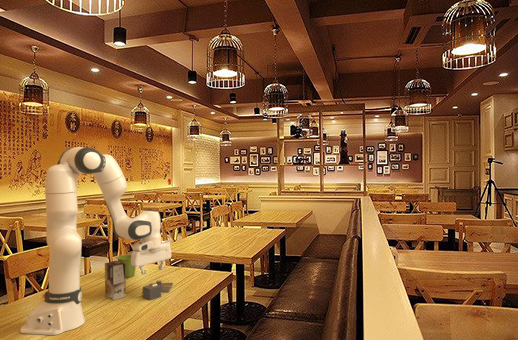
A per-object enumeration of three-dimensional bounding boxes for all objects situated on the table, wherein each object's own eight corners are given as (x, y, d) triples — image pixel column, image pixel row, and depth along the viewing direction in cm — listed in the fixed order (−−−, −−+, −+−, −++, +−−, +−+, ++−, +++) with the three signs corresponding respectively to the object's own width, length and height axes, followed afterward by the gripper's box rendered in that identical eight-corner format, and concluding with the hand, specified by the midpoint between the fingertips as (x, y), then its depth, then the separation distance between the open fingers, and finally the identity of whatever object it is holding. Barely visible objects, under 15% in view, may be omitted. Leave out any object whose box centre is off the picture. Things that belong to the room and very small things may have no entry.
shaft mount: (144, 293, 186) (144, 285, 185) (149, 285, 198) (149, 277, 197) (169, 292, 186) (168, 284, 186) (173, 284, 198) (172, 276, 198)
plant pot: (134, 279, 207) (134, 259, 207) (113, 279, 208) (112, 259, 207) (141, 273, 219) (141, 253, 219) (121, 273, 219) (121, 254, 219)
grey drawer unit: (150, 300, 176) (149, 288, 176) (143, 297, 180) (142, 285, 180) (161, 296, 180) (160, 285, 180) (153, 294, 184) (153, 282, 184)
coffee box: (126, 296, 181) (125, 263, 181) (113, 300, 176) (112, 266, 176) (117, 292, 187) (116, 260, 187) (104, 295, 182) (104, 262, 182)
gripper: (166, 238, 189) (166, 265, 190) (128, 246, 174) (129, 275, 174) (173, 240, 185) (174, 267, 186) (136, 248, 170) (137, 278, 170)
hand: (152, 271), depth 180 cm, fingers open, 8 cm apart
